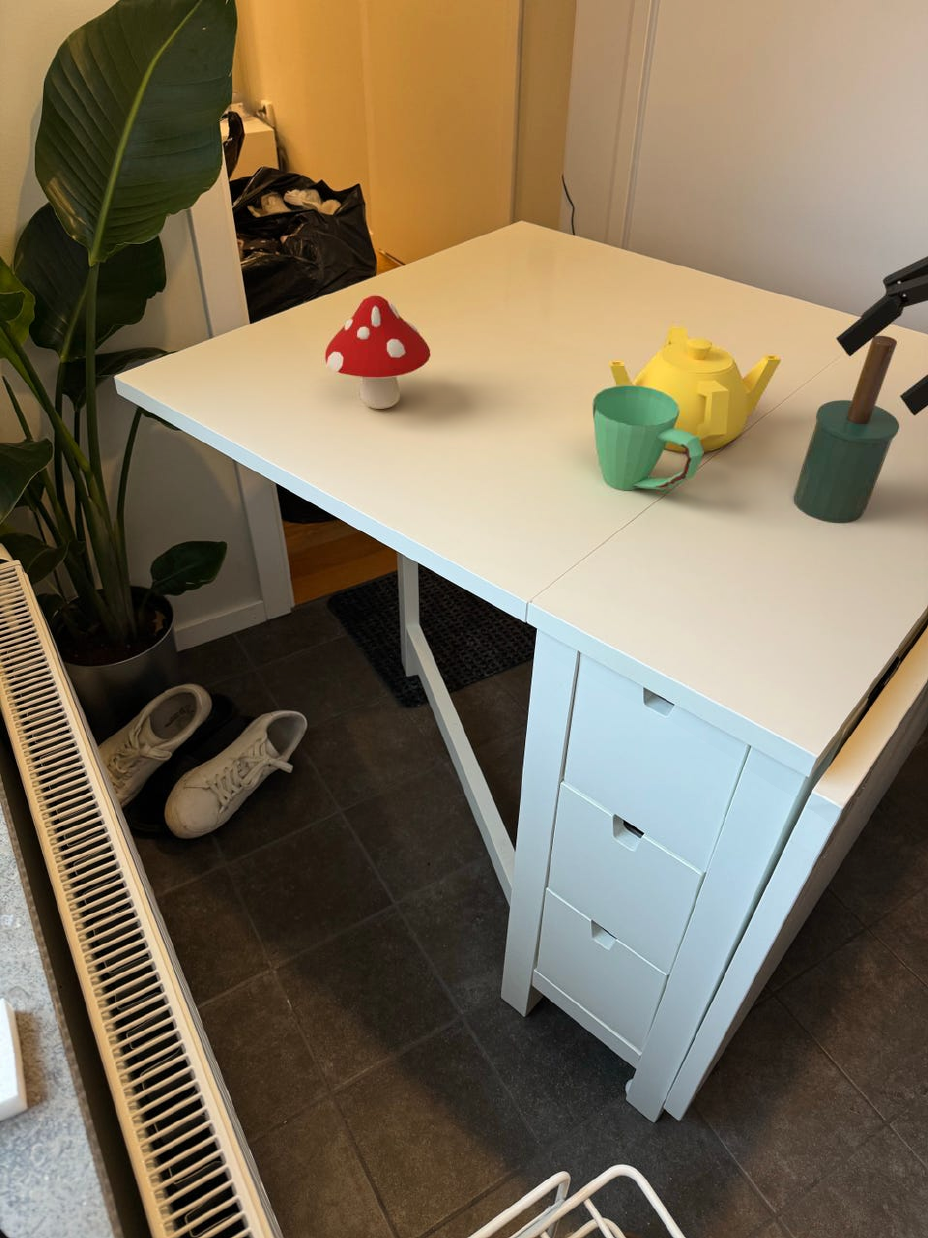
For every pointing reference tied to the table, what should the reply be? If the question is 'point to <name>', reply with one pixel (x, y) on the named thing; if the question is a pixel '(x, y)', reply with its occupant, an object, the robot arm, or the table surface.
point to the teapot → (702, 387)
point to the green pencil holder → (838, 476)
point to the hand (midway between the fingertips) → (872, 375)
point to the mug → (639, 437)
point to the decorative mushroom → (377, 351)
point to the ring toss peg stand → (864, 402)
